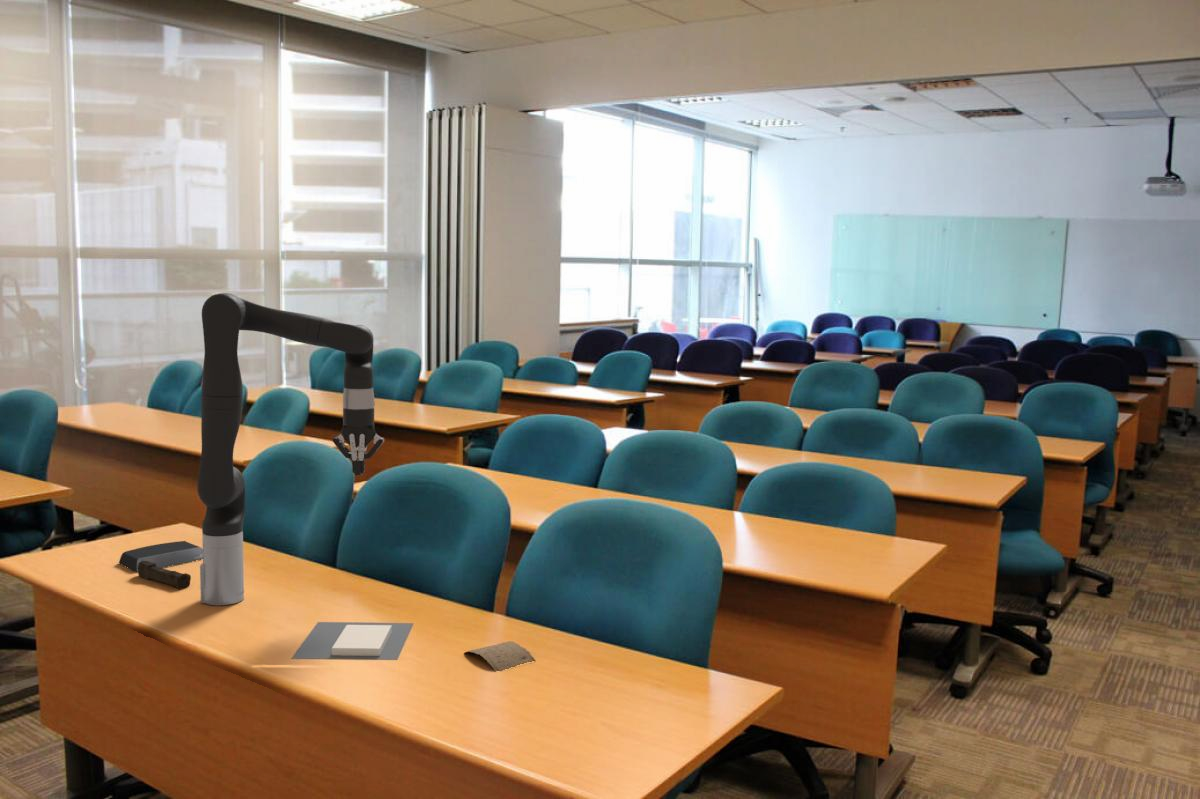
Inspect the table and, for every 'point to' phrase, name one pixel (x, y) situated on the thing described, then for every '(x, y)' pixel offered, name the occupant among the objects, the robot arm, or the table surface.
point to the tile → (362, 640)
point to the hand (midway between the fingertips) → (358, 474)
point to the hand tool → (163, 575)
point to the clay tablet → (504, 655)
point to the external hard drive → (162, 554)
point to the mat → (329, 632)
